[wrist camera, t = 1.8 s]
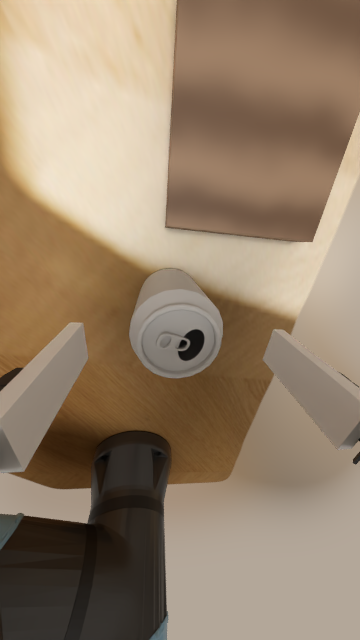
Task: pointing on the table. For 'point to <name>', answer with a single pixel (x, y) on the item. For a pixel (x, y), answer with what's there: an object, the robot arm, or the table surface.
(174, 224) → the walnut plinth
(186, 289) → the can
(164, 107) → the table surface
